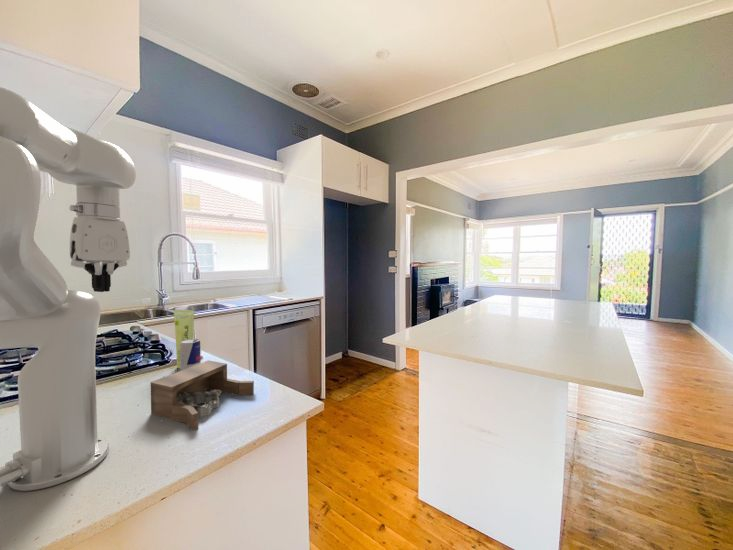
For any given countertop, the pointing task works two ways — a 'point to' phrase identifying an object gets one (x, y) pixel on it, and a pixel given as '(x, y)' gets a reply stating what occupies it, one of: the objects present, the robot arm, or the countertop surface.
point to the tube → (183, 328)
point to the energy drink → (189, 353)
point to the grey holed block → (198, 397)
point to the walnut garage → (193, 390)
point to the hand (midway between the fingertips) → (101, 291)
